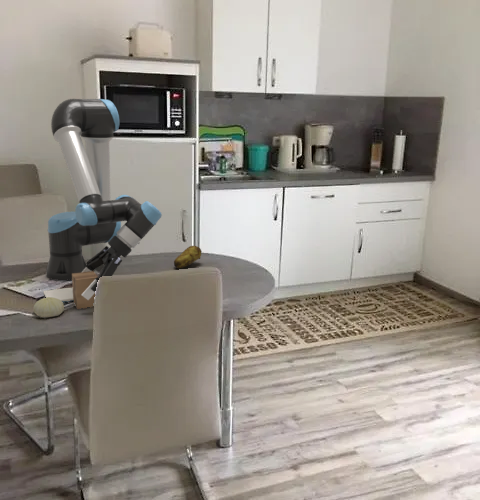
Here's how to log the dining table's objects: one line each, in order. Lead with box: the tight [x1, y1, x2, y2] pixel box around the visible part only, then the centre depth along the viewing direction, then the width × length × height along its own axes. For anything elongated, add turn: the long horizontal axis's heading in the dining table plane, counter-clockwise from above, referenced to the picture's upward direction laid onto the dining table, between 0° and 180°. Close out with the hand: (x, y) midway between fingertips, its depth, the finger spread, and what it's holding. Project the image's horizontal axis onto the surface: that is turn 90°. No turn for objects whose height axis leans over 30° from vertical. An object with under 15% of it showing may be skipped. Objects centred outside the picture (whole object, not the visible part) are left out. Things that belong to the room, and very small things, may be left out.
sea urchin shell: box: [32, 297, 65, 318], centre depth 177 cm, size 9×8×8 cm
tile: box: [43, 286, 73, 301], centre depth 191 cm, size 11×11×1 cm
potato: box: [173, 245, 202, 269], centre depth 227 cm, size 8×13×8 cm, turn 120°
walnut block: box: [71, 270, 98, 310], centre depth 185 cm, size 7×7×10 cm
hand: (80, 290), depth 184 cm, fingers open, 13 cm apart
